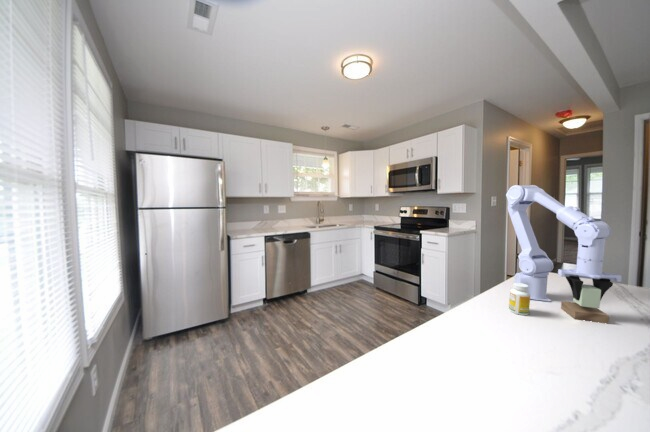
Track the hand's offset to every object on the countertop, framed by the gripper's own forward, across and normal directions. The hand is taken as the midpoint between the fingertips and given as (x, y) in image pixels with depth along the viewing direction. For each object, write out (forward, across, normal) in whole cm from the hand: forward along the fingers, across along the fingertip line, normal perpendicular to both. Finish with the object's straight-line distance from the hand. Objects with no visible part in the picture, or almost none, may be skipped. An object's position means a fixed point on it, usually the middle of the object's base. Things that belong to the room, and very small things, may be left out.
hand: (586, 299), depth 79 cm
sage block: (+2, 0, 0) cm, 2 cm away
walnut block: (+6, 0, 0) cm, 6 cm away
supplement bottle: (+6, -19, -4) cm, 20 cm away
